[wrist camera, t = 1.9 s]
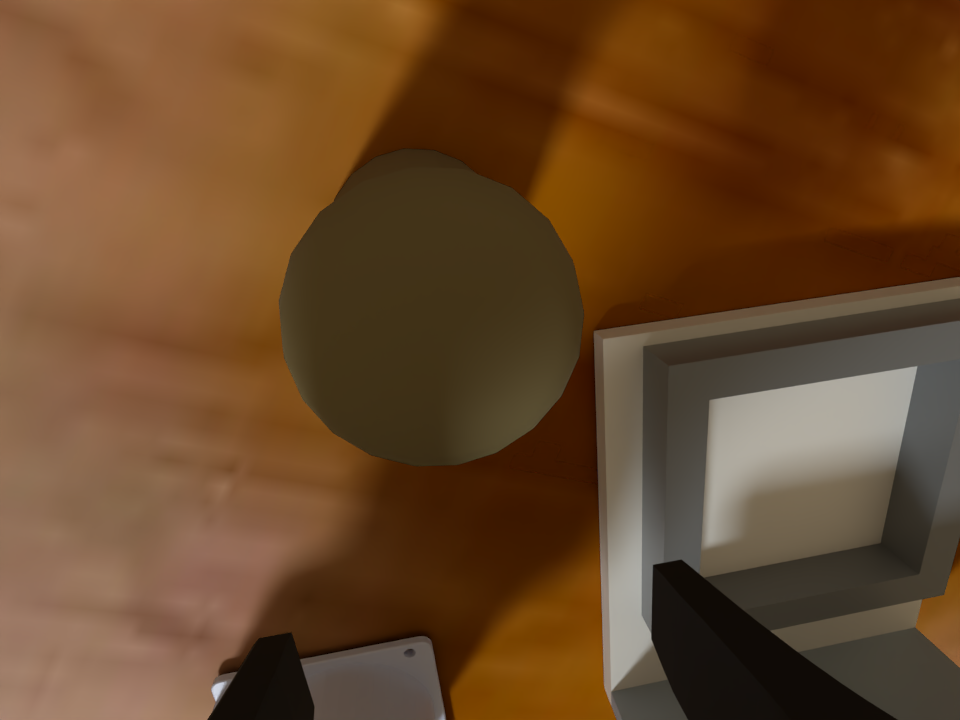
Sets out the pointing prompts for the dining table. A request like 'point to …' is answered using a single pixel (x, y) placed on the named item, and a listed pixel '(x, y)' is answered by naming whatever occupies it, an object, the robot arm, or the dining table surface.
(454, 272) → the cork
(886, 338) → the socket block
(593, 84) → the dining table surface
